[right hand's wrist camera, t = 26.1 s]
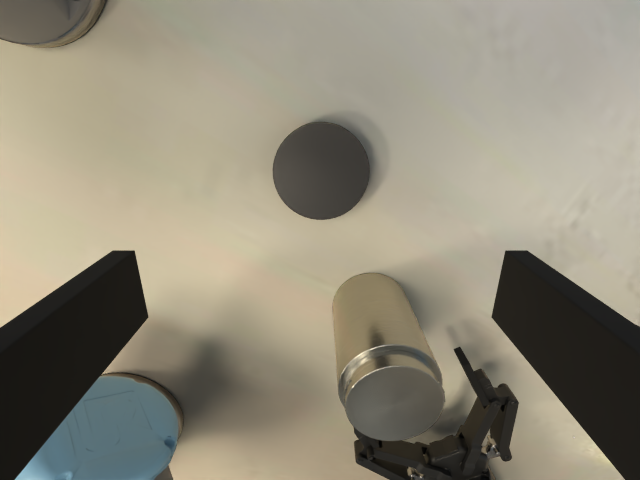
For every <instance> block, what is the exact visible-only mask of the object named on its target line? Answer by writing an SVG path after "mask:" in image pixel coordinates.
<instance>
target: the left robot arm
mask: <svg viewBox="0 0 640 480" xmlns="http://www.w3.org/2000/svg"><path fill="white" fill-rule="evenodd" d="M454 351H455V353H456V355H457V357H458V359H459V361H460V363H461V365H462V367H463V369H464V371H465V373H466V375H467V377H468V379H469V381H470V383H471V385H472V387H473V389H474V391H475V393H476V394H477V396H478V397H477V399H476V401H475V403H474V405H473V407H472V410H471V412H470V414H469V416H468V418H467V420H466V422H465V424H464V425H461V426H460V428H459V430H458V432H457V435H456V436H453V435H451V436H448V437H446V438H444V439H443V440H440V441H434V442H432V443H430V445H427V444H423V443H420V442H416V443H415V444H412V443H408V442H405V441H401V440H399V441H383V440H377V439H374V438H370V437H368V436H366V435H364V434H362V433H361V432H359V431H358V430H357V429H356V428H355V427H354V433H355V434H356V436H357V437H358V439H359V440H356V441H355V442H354V447H355V457H356V463H357V464H359V465H361V466H363V467H365V468H367V469H369V470H371V471H373V472H375V473H377V474H379V475H381V476H383V477H385V478H387V479H389V480H496V479H495V477H494V475H493V473H492V472H491V470H490V468H489V466H488V459H490V458H494V457H498V456H500V457H501V459H502V460H503V461H510V460H511V459H512V456H511V452H510V449H509V445H510V441H511V436H512V432H513V427H514V422H515V418H516V413H517V409H518V404H519V402H518V400H517V399H516V397H515V396H514V394H513V393H512V391H511V390H510V388H509V387H508V386H507V384H500V385H499V386H498V388H494V387H492V385H491V382H490V380H489V379H488V377H487V375H486V374H485V372H484V371H483V370H482V369H478V370H476V371H473V369H472V367H471V365H470V363H469V361H468V360H467V358H466V356H465V355H464V353H463V351H462V350H461V348H460V347H458V348H456V349H454ZM182 428H183V414H182V411H181V408H180V406H179V404H178V403H177V401H176V400H175V398H174V397H173V396H172V395H171V394H170V393H169V392H168V391H167V390H166V389H164V388H163V387H161V386H160V385H158V384H157V383H155V382H153V381H151V380H148V379H146V378H143V377H140V376H136V375H131V374H124V373H114V374H106V375H102V376H100V377H99V378H98V379H97V380H96V382H95V383H94V384H93V385H92V386H91V388H90V389H89V390H88V391H87V392H86V394H85V395H84V396H83V397H82V399H81V400H80V401H79V402H78V403H77V405H76V406H75V407H74V408H73V409H72V411H71V412H70V413H69V414H68V416H67V417H66V418H65V419H64V420H63V422H62V423H61V424H60V425H59V427H58V428H57V429H56V430H55V431H54V433H53V434H52V435H51V436H50V437H49V439H48V440H47V441H46V442H45V444H44V445H43V446H42V447H41V448H40V450H39V451H38V452H37V453H36V454H35V456H34V457H33V458H32V459H31V461H30V462H29V463H28V464H27V465H26V467H25V468H24V469H23V470H22V472H21V473H20V474H19V475H18V476H17V478H16V479H15V480H173V477H172V475H171V472H170V469H169V465H168V464H169V463H170V461H171V459H172V456H173V454H174V451H175V449H176V446H177V441H178V438H179V436H180V434H181V431H182ZM489 429H490V435H488V436H487V438H488V442H487V445H486V446H485V447H482V446H481V444H482V442H483V440H484V438H485V436H486V434H487V433H488V431H489ZM423 454H425V455H423ZM413 468H415V469H416V470H415V469H413Z"/></svg>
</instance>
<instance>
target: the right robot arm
mask: <svg viewBox="0 0 640 480" xmlns="http://www.w3.org/2000/svg"><path fill="white" fill-rule="evenodd" d="M105 1H106V0H0V39H2V40H5V41H9V42H13V43H17V44H22V45H27V46H32V47H40V48H51V47H58V46H62V45H66V44H68V43H71V42H73V41H75V40H76V39H78V38H80V37H81V36H82V35H84V34H85V33H86V32H87V31H88V30H89V29H90V28H91V27H92V26H93V24H94V23H95V22H96V20H97V19H98V17H99V15H100V13H101V11H102V9H103V7H104V4H105ZM147 318H148V313H147V308H146V303H145V299H144V294H143V289H142V284H141V279H140V275H139V270H138V265H137V260H136V255H135V251H112V252H110V253H109V254H107V255H106V256H104V257H103V258H101V259H100V260H99V261H97V262H96V263H94V264H93V265H91V266H90V267H88V268H87V269H85V270H84V271H82V272H81V273H80V274H78V275H77V276H75V277H74V278H72V279H71V280H69V281H68V282H66V283H65V284H64V285H62V286H61V287H59V288H58V289H56V290H55V291H53V292H52V293H50V294H49V295H47V296H46V297H45V298H43V299H42V300H40V301H39V302H37V303H36V304H34V305H33V306H31V307H30V308H29V309H27V310H26V311H24V312H23V313H21V314H20V315H18V316H17V317H15V318H14V319H13V320H11V321H10V322H8V323H7V324H5V325H4V326H2V327H1V328H0V480H15V479H16V478H17V476H18V475H19V474H20V473H21V472H22V470H23V469H24V468H25V467H26V465H27V464H28V463H29V462H30V461H31V459H32V458H33V457H34V456H35V454H36V453H37V452H38V451H39V450H40V448H41V447H42V446H43V445H44V444H45V442H46V441H47V440H48V439H49V437H50V436H51V435H52V434H53V433H54V431H55V430H56V429H57V428H58V427H59V425H60V424H61V423H62V422H63V420H64V419H65V418H66V417H67V416H68V414H69V413H70V412H71V411H72V409H73V408H74V407H75V406H76V405H77V403H78V402H79V401H80V400H81V399H82V397H83V396H84V395H85V394H86V392H87V391H88V390H89V389H90V388H91V386H92V385H93V384H94V383H95V382H96V380H97V379H98V378H99V377H100V375H101V374H102V373H103V372H104V371H105V369H106V368H107V367H108V366H109V364H110V363H111V362H112V361H113V360H114V358H115V357H116V356H117V355H118V354H119V352H120V351H121V350H122V349H123V347H124V346H125V345H126V344H127V343H128V341H129V340H130V339H131V338H132V337H133V335H134V334H135V333H136V332H137V330H138V329H139V328H140V327H141V326H142V324H143V323H144V322H145V321H146V319H147ZM492 318H493V319H494V321H495V322H496V323H497V324H498V326H499V327H500V328H501V329H502V330H503V332H504V333H505V334H506V335H507V337H508V338H509V339H510V340H511V341H512V343H513V344H514V345H515V346H516V347H517V349H518V350H519V351H520V352H521V354H522V355H523V356H524V357H525V358H526V360H527V361H528V362H529V363H530V364H531V366H532V367H533V368H534V369H535V371H536V372H537V373H538V374H539V375H540V377H541V378H542V379H543V380H544V382H545V383H546V384H547V385H548V386H549V388H550V389H551V390H552V391H553V392H554V394H555V395H556V396H557V397H558V399H559V400H560V401H561V402H562V403H563V405H564V406H565V407H566V408H567V409H568V411H569V412H570V413H571V414H572V416H573V417H574V418H575V419H576V420H577V422H578V423H579V424H580V425H581V427H582V428H583V429H584V430H585V431H586V433H587V434H588V435H589V436H590V437H591V439H592V440H593V441H594V442H595V444H596V445H597V446H598V447H599V448H600V450H601V451H602V452H603V453H604V454H605V456H606V457H607V458H608V459H609V461H610V462H611V463H612V464H613V465H614V467H615V468H616V469H617V470H618V472H619V473H620V474H621V475H622V476H623V478H624V479H625V480H640V327H639V326H637V325H635V324H633V323H632V322H630V321H629V320H627V319H626V318H625V317H623V316H622V315H620V314H619V313H617V312H616V311H614V310H613V309H611V308H610V307H609V306H607V305H606V304H604V303H603V302H601V301H600V300H598V299H597V298H595V297H594V296H592V295H591V294H590V293H588V292H587V291H585V290H584V289H582V288H581V287H579V286H578V285H576V284H575V283H574V282H572V281H571V280H569V279H568V278H566V277H565V276H563V275H562V274H560V273H559V272H558V271H556V270H555V269H553V268H552V267H550V266H549V265H547V264H546V263H544V262H543V261H541V260H540V259H539V258H537V257H536V256H534V255H533V254H531V253H530V252H528V251H505V255H504V260H503V265H502V270H501V275H500V279H499V284H498V289H497V294H496V299H495V303H494V308H493V313H492Z"/></svg>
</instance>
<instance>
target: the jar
mask: <svg viewBox="0 0 640 480" xmlns="http://www.w3.org/2000/svg"><path fill="white" fill-rule="evenodd" d="M333 320H334V336H335V352H336V368H337V383H338V394H339V398H340V400H341V402H342V404H343V406H344V407H345V411H346V414H347V417H348V419H349V421H350V422H351V424H352V425H353V426H354V427H355V428H356V429H357V430H358V431H359V432H361V433H362V434H364V435H366V436H368V437H370V438H374V439H377V440H383V441H399V440H405V439H409V438H412V437H415V436H417V435H419V434H421V433H423V432H425V431H426V430H428V429H429V428H430V427H431V426H432V425H433V424H434V423H435V422H436V421H437V419H438V418H439V416H440V415H441V413H442V411H443V407H444V402H445V395H444V390H443V388H442V374H441V371H440V369H439V366H438V364H437V362H436V360H435V358H434V356H433V353H432V351H431V349H430V347H429V345H428V343H427V340H426V338H425V336H424V334H423V332H422V329H421V327H420V325H419V323H418V321H417V319H416V316H415V314H414V312H413V310H412V308H411V306H410V303H409V301H408V299H407V297H406V295H405V292H404V291H403V289H402V287H401V286H400V285H399V284H398V283H397V282H396V281H395V280H393V279H392V278H390V277H388V276H385V275H382V274H377V273H366V274H361V275H357V276H355V277H353V278H351V279H349V280H348V281H346V282H345V283H344V284H343V285H342V286H341V287H340V288H339V289H338V291H337V293H336V295H335V297H334V300H333Z"/></svg>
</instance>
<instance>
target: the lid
mask: <svg viewBox="0 0 640 480" xmlns="http://www.w3.org/2000/svg"><path fill="white" fill-rule="evenodd" d="M273 179H274V184H275V187H276V190H277V192H278V194H279V196H280V197H281V199H282V200H283V201H284V203H285V204H286V205H287V206H288V207H289V208H290V209H292V210H293V211H294V212H296V213H298V214H299V215H302V216H304V217H307V218H311V219H317V220H325V219H331V218H335V217H338V216H341V215H343V214H345V213H346V212H348V211H349V210H351V209H352V208H353V207H354V206H355V205H356V204H357V203H358V202H359V201H360V199H361V198H362V196H363V194H364V192H365V190H366V188H367V185H368V180H369V162H368V158H367V155H366V152H365V150H364V148H363V146H362V145H361V143H360V142H359V140H358V139H357V138H356V137H355V136H354V135H353V134H351V133H350V132H349V131H348V130H346V129H345V128H343V127H341V126H339V125H336V124H333V123H328V122H314V123H309V124H306V125H304V126H301V127H299V128H298V129H296V130H295V131H293V132H292V133H291V134H290V135H289V136H288V137H287V138H286V139H285V140H284V141H283V142H282V144H281V145H280V147H279V149H278V150H277V153H276V156H275V159H274V163H273Z"/></svg>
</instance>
